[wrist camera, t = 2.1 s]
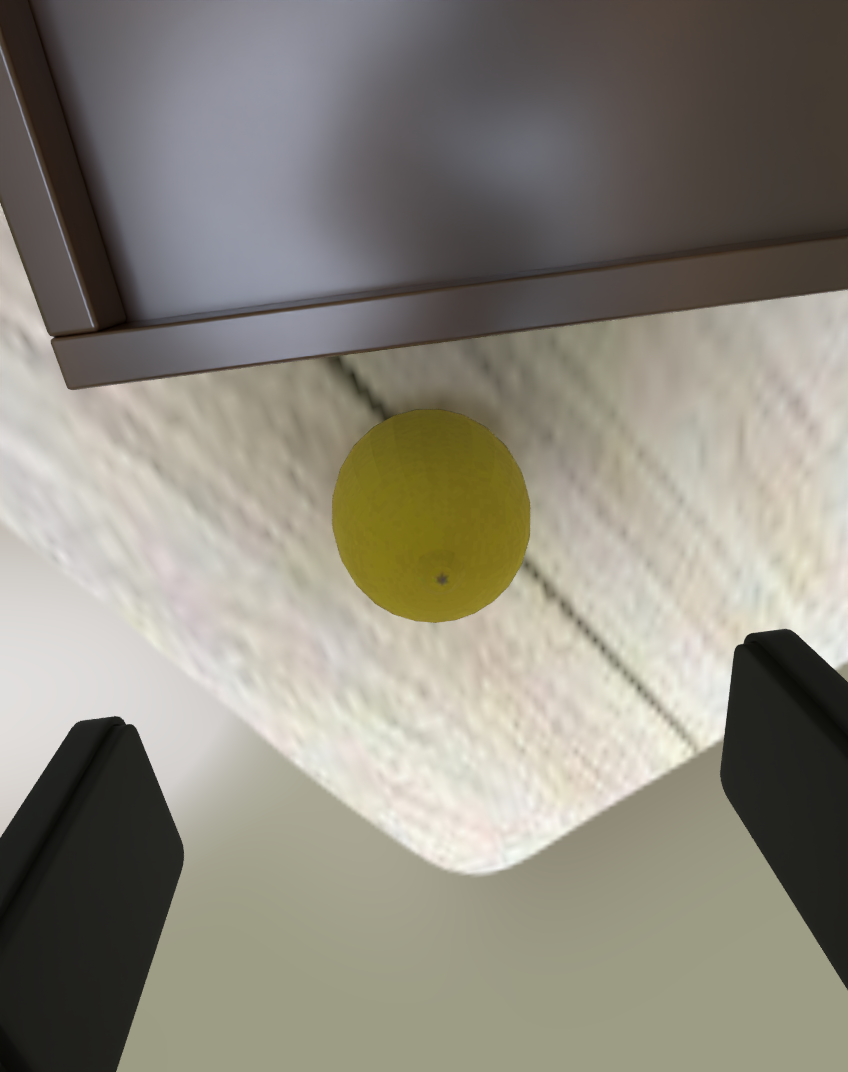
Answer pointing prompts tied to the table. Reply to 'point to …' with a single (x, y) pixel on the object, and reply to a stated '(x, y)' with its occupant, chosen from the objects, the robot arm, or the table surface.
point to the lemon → (431, 515)
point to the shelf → (410, 170)
